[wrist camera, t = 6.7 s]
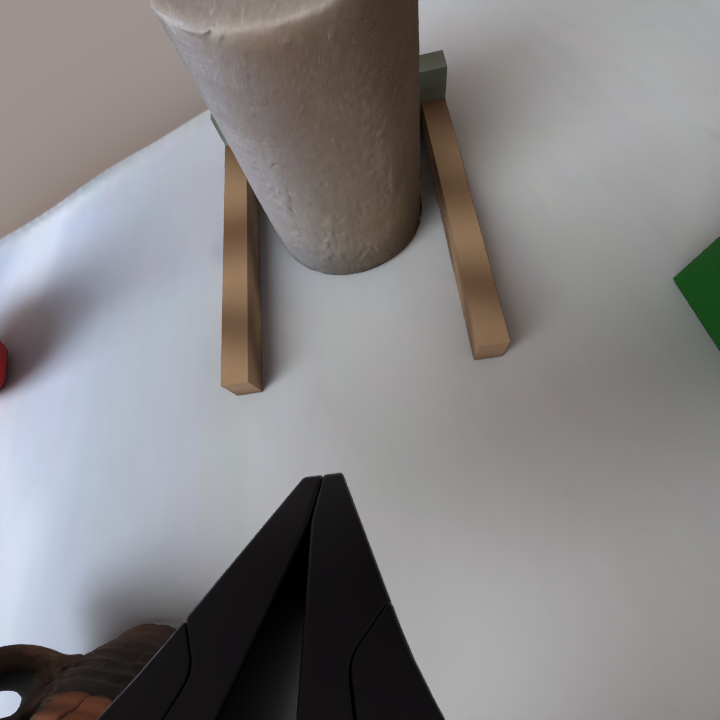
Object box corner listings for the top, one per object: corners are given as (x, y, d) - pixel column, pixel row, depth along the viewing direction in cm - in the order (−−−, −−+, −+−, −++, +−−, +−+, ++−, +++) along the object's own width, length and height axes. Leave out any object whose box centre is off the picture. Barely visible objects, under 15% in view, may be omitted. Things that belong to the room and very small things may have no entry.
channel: (502, 355, 21) (520, 324, 17) (237, 395, 22) (201, 374, 19) (439, 110, 28) (442, 50, 24) (238, 153, 29) (211, 102, 25)
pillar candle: (440, 170, 26) (460, -221, 12) (392, 294, 23) (343, -22, 9) (310, 149, 28) (201, -194, 14) (253, 258, 26) (51, -32, 12)
